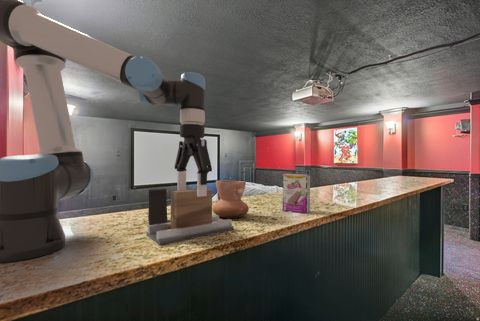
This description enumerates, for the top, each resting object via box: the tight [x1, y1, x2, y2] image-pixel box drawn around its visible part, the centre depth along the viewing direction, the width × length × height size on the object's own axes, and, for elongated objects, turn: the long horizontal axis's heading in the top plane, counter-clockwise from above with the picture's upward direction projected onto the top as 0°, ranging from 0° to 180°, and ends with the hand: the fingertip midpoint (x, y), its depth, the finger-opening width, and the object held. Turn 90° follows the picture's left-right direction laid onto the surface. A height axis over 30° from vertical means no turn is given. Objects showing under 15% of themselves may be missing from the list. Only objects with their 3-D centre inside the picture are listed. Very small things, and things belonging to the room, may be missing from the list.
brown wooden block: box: [170, 188, 213, 229], centre depth 76 cm, size 4×12×12 cm, turn 128°
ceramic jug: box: [212, 179, 249, 219], centre depth 100 cm, size 18×14×14 cm
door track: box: [146, 214, 235, 246], centre depth 76 cm, size 24×11×3 cm, turn 128°
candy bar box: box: [282, 173, 311, 214], centre depth 108 cm, size 11×5×16 cm, turn 58°
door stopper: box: [147, 188, 168, 225], centre depth 89 cm, size 9×6×12 cm, turn 22°
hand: (190, 193), depth 76 cm, fingers open, 13 cm apart
